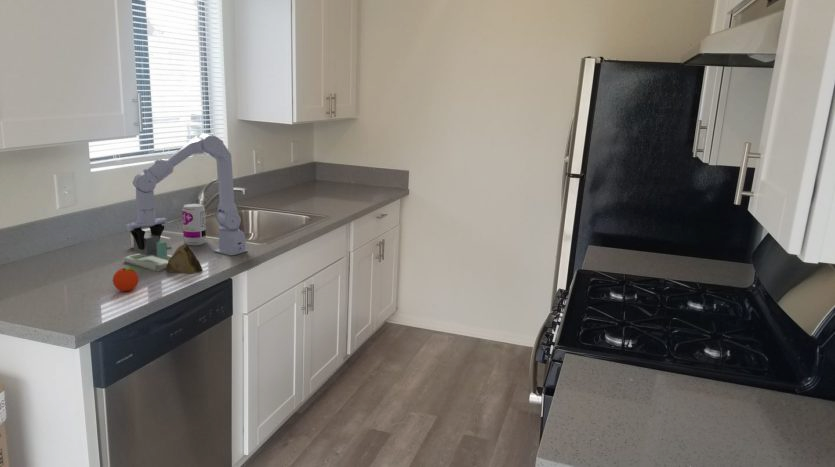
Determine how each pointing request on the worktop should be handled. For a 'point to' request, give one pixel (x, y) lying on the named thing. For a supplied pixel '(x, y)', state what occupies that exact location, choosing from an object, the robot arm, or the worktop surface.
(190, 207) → the supplement can
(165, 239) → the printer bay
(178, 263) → the rock
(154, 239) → the toner caddy
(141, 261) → the tray
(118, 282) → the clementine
